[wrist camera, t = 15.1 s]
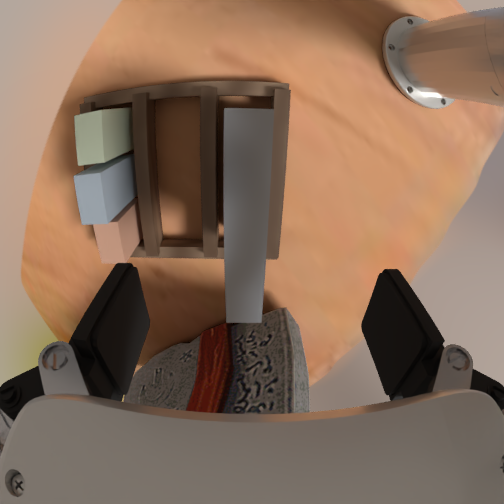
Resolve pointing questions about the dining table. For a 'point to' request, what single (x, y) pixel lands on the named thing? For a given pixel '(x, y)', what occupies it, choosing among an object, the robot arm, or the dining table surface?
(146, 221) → the walnut rack
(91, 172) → the slate offcut board
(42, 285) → the dining table surface
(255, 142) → the charcoal panel
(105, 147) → the sage offcut board
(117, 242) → the terracotta offcut board
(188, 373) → the decorative stone tablet
